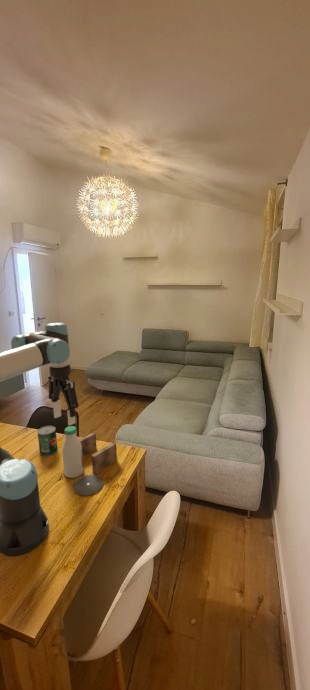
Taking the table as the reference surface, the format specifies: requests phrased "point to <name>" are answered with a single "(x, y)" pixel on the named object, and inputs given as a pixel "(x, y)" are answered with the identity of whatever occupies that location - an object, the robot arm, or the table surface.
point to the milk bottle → (72, 453)
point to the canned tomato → (47, 440)
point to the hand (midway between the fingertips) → (64, 420)
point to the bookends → (98, 453)
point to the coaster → (88, 485)
